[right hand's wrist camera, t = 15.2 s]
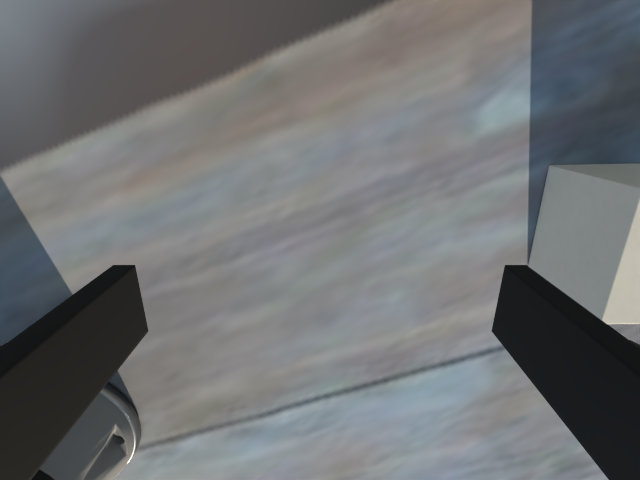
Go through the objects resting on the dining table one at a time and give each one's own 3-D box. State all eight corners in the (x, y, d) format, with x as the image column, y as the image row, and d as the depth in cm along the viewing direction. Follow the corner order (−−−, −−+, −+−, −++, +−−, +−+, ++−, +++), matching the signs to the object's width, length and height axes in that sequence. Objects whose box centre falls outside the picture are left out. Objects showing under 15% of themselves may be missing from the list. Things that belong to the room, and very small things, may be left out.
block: (527, 266, 32) (600, 324, 23) (548, 164, 28) (643, 188, 20) (614, 266, 31) (720, 323, 23) (646, 163, 28) (783, 185, 20)
